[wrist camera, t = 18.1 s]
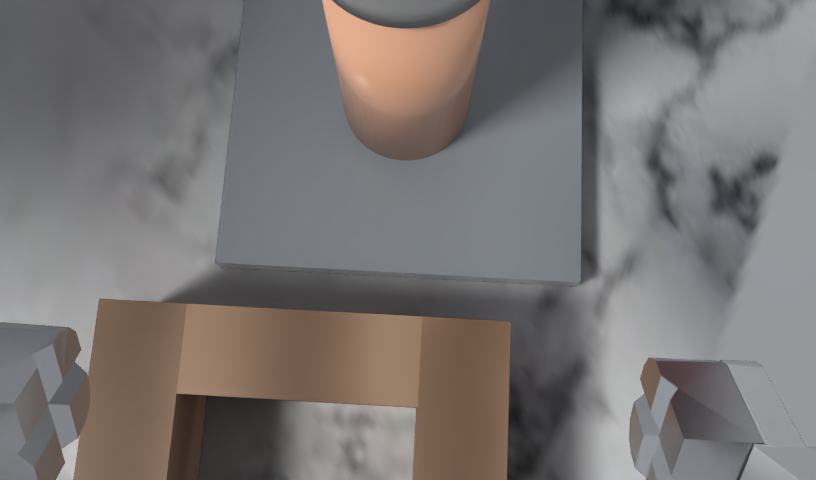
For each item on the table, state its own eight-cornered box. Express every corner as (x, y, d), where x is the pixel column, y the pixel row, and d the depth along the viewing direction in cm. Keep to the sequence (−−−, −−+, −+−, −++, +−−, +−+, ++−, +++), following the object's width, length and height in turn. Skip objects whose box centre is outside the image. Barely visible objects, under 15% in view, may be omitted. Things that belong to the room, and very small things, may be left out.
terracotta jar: (333, 161, 30) (288, 2, 19) (344, 36, 32) (307, -187, 20) (471, 168, 30) (511, 13, 19) (475, 43, 32) (516, -177, 20)
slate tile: (221, 267, 31) (214, 262, 30) (255, -49, 34) (251, -63, 33) (575, 286, 30) (580, 282, 29) (577, -33, 33) (582, -47, 32)
